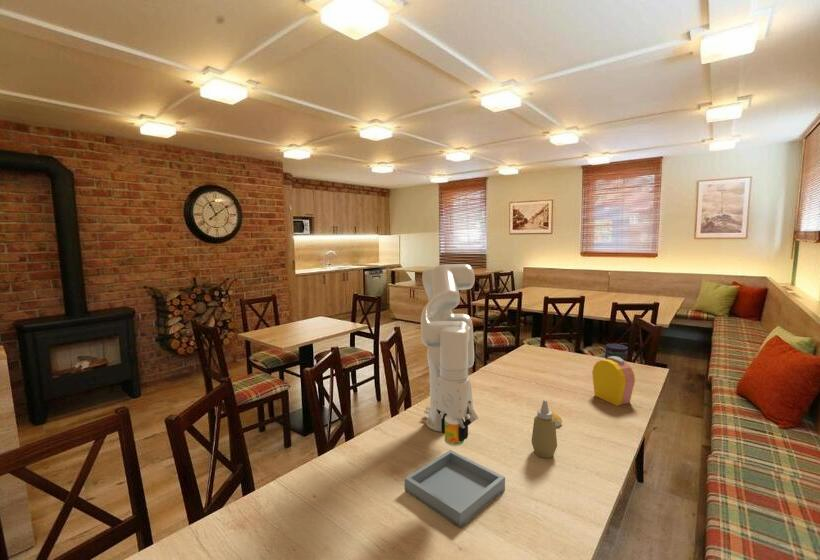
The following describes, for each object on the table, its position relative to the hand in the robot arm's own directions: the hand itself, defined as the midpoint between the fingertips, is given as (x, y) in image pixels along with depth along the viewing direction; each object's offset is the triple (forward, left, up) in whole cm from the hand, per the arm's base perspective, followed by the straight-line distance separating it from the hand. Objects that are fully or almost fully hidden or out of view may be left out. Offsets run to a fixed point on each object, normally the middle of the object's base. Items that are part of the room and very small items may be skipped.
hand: (454, 434), depth 108 cm
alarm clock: (+10, +95, -17) cm, 97 cm away
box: (0, 0, -17) cm, 17 cm away
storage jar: (+1, +126, -17) cm, 127 cm away
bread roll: (0, +57, -17) cm, 59 cm away
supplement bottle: (0, 0, -2) cm, 2 cm away
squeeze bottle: (+9, +35, -17) cm, 40 cm away
